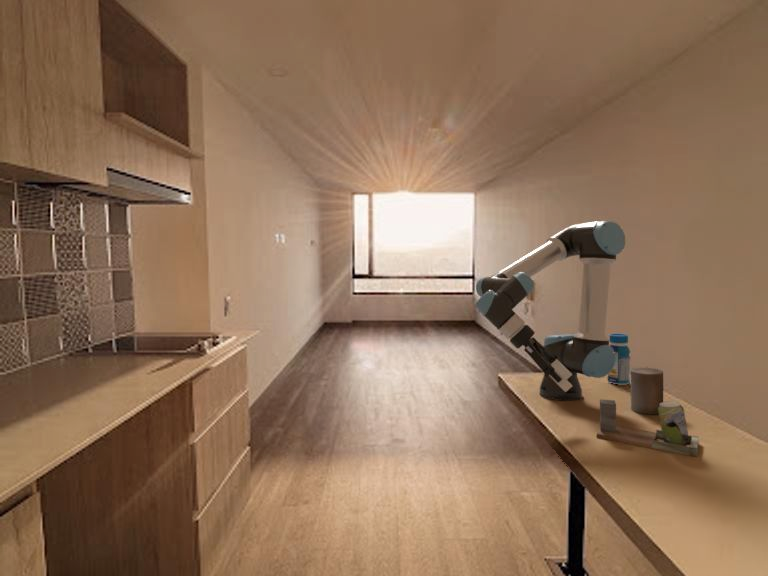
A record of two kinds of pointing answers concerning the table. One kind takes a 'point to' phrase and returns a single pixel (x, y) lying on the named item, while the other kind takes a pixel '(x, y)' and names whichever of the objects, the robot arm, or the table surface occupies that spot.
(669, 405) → the beverage can
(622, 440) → the pull strip
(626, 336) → the beverage bottle
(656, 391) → the pillar candle
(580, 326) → the robot arm
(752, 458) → the table surface
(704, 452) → the table surface
